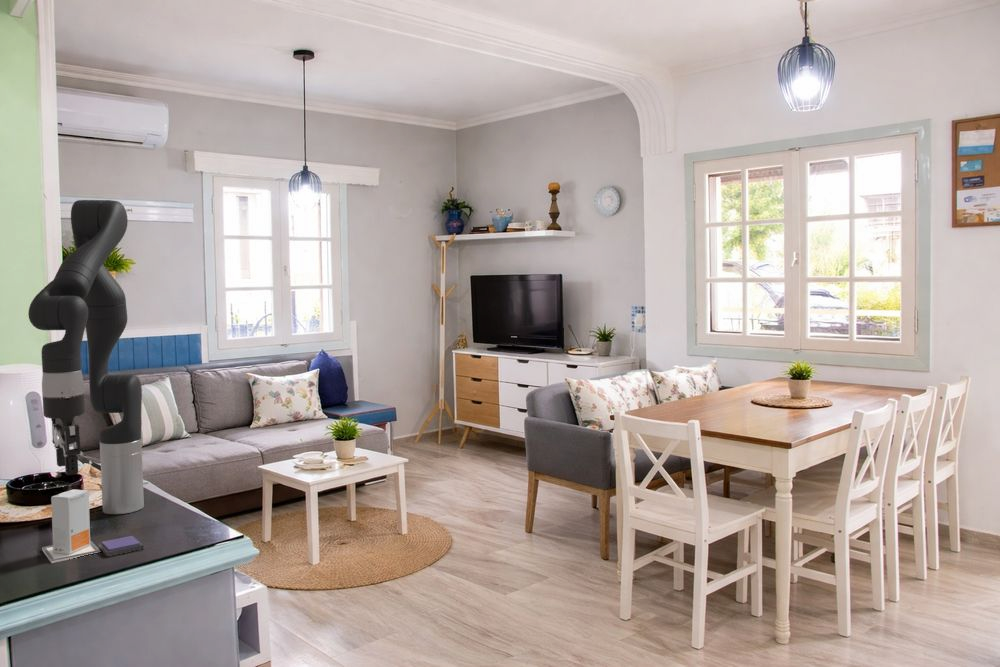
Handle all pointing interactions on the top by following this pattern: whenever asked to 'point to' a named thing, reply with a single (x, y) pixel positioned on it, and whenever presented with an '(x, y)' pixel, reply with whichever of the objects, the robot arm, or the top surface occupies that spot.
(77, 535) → the skincare box
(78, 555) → the framed whiteboard
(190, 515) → the top surface
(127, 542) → the ink pad
